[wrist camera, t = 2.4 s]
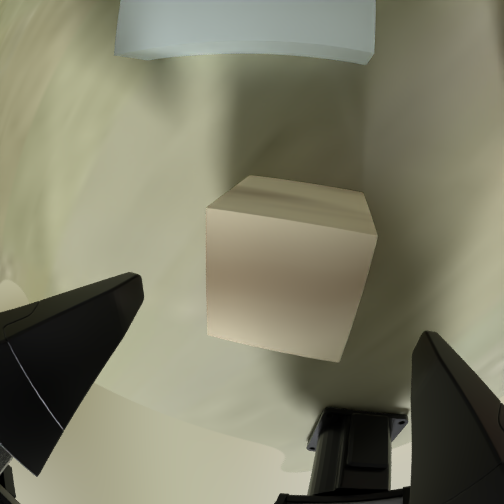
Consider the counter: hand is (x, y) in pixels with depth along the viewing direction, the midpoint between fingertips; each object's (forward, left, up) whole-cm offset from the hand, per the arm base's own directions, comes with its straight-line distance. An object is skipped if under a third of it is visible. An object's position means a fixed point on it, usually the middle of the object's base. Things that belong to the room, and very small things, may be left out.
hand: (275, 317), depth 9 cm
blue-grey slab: (+13, +3, -6) cm, 15 cm away
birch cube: (0, 0, -6) cm, 6 cm away
